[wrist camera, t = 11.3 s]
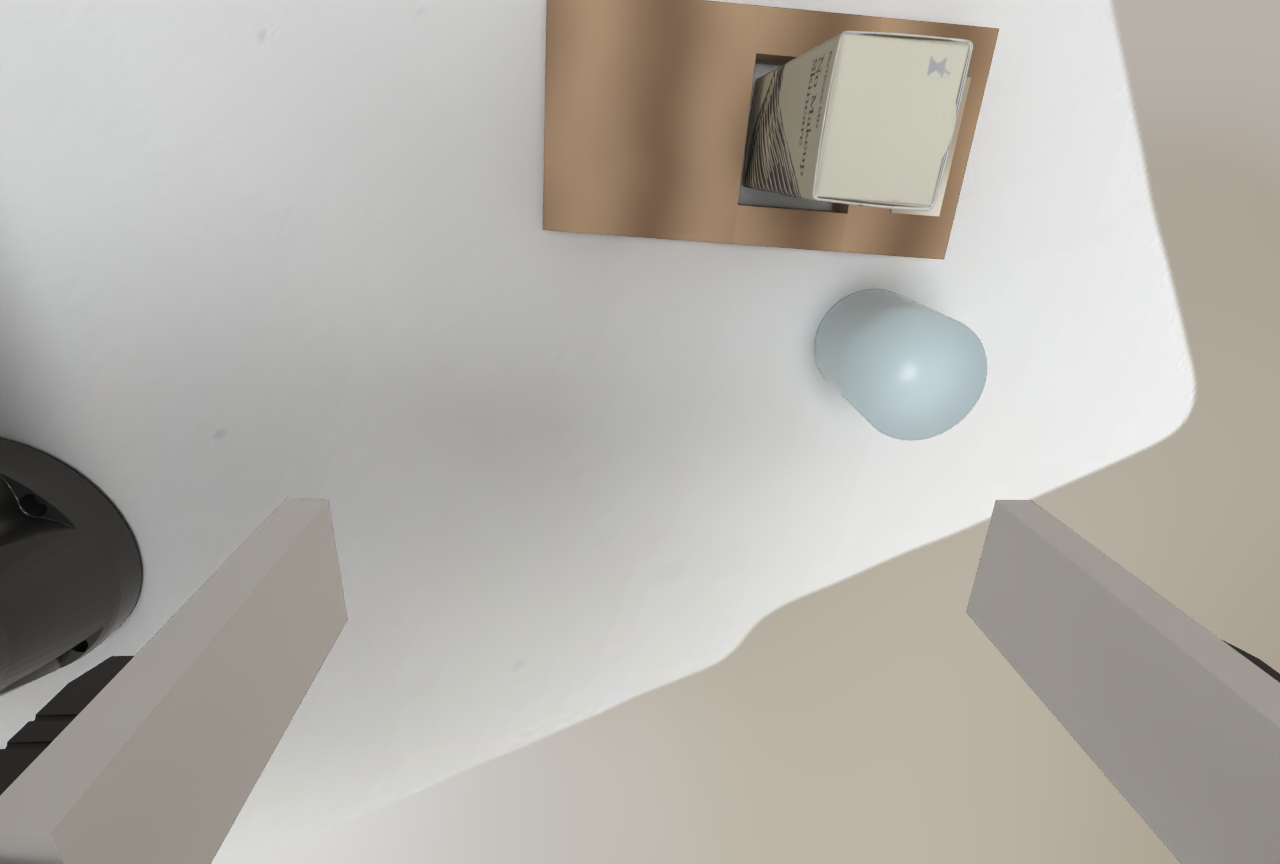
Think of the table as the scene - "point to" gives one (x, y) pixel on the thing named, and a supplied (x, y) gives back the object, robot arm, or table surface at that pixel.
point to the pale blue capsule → (900, 363)
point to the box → (859, 120)
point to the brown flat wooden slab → (709, 125)
